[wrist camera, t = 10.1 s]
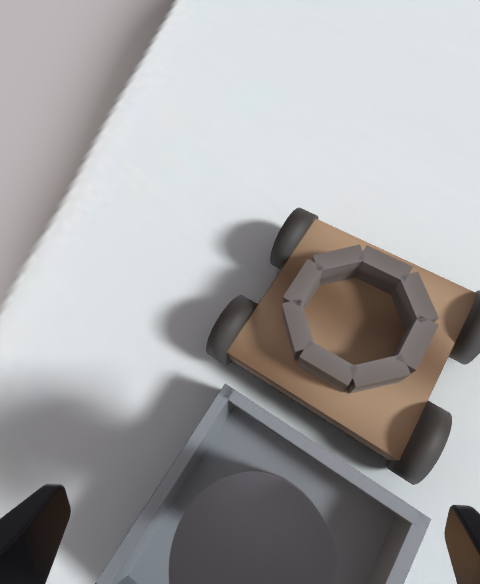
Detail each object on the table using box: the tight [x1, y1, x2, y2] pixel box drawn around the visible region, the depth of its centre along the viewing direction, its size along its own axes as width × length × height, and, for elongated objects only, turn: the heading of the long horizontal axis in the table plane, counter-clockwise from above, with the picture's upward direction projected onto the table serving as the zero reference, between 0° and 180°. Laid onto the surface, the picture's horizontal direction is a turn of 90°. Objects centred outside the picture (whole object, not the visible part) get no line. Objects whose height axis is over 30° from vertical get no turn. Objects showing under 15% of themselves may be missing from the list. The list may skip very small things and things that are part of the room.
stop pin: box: [169, 471, 339, 584], centre depth 15 cm, size 4×4×11 cm
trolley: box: [206, 208, 480, 485], centre depth 22 cm, size 11×12×5 cm
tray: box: [95, 384, 431, 584], centre depth 19 cm, size 11×11×4 cm
